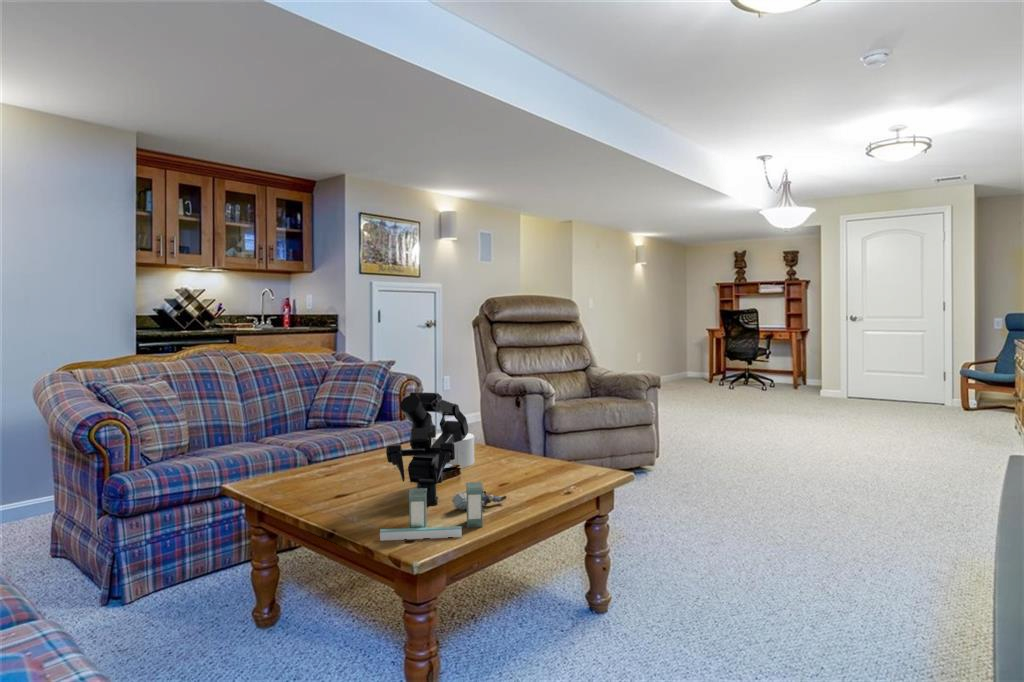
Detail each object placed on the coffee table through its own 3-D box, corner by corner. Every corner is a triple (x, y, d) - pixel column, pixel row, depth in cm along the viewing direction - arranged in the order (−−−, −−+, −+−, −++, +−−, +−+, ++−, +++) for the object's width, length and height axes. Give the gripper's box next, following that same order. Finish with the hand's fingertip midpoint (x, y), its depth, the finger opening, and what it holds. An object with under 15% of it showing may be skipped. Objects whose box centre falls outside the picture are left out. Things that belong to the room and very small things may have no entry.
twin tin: (466, 521, 156) (465, 482, 156) (481, 520, 157) (481, 481, 156) (466, 528, 151) (466, 488, 151) (482, 527, 151) (482, 487, 151)
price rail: (380, 538, 144) (380, 529, 144) (461, 535, 146) (461, 526, 146) (380, 540, 143) (380, 531, 142) (461, 537, 145) (461, 528, 144)
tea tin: (411, 528, 151) (410, 488, 150) (427, 527, 151) (426, 488, 151) (409, 536, 146) (408, 494, 145) (426, 535, 146) (425, 494, 146)
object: (472, 469, 210) (472, 439, 210) (429, 469, 211) (429, 439, 210) (476, 458, 226) (475, 431, 225) (436, 458, 226) (436, 431, 226)
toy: (509, 499, 169) (471, 503, 158) (485, 514, 175) (447, 519, 164) (501, 477, 172) (463, 480, 162) (478, 493, 178) (440, 496, 167)
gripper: (385, 416, 160) (382, 467, 150) (453, 414, 162) (454, 464, 152) (389, 437, 168) (386, 487, 158) (454, 434, 170) (455, 483, 160)
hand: (420, 480), depth 157 cm, fingers open, 9 cm apart
